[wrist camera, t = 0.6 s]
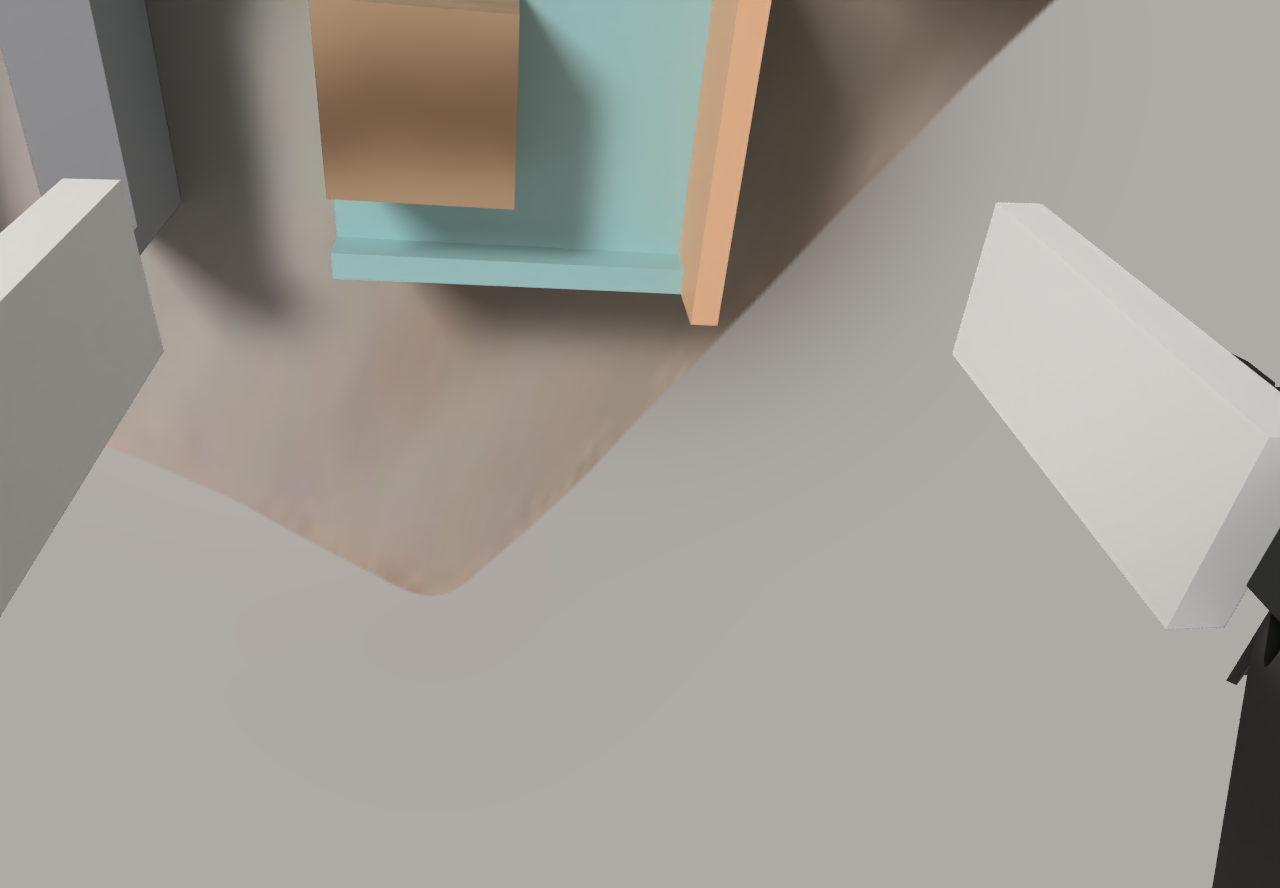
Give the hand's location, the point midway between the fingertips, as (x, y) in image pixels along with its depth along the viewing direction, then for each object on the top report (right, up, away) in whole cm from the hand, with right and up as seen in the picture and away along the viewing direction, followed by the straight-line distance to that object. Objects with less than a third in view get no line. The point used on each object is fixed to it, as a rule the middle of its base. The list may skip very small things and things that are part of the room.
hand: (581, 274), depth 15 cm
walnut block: (-6, +10, +18) cm, 21 cm away
